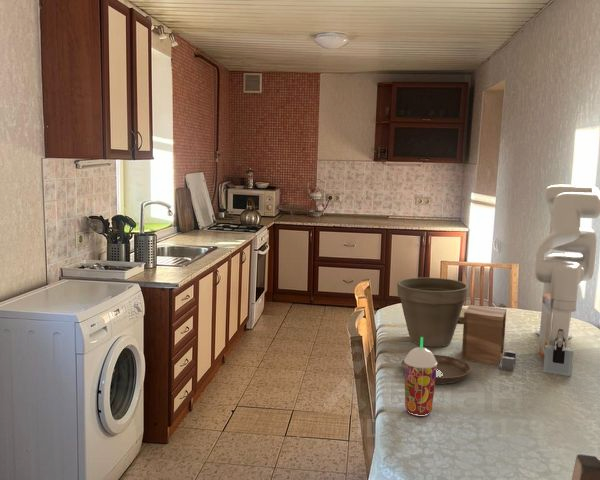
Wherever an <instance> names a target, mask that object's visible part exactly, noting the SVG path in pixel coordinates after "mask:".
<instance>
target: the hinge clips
mask: <svg viewBox="0 0 600 480" xmlns="http://www.w3.org/2000/svg"><path fill="white" fill-rule="evenodd" d="M516 361H517V352H516V351H511V350H504V352H503V357H502V359H501V362H500V365H498V370H501V371H506V372H507V371H508V372H514V371H515V366H516Z"/></svg>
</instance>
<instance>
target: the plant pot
mask: <svg viewBox="0 0 600 480" xmlns="http://www.w3.org/2000/svg"><path fill="white" fill-rule="evenodd" d="M396 285H397V287H396V288H397V296H398V298H399V299H400V303H401V308H402V311H403V312H402V313H403V316H404V320H405V323H406V327H407V328H406V329H407V331H408V332H407V333H408V335H409V340H410V341H411V342H412V343H414V344H415V345H418V346H420V340H421V337H423V347H428V348H429V347H430V348H432V347H433V348H441V347H446V346H449V345H450V344H451V343H452V340H453V337H454V336H455V332H456V329H457V325H458V323H457V322H458V319H459V316H460V313H461V310H462V308H463V306H464V303H465V302H466V300H467V299H468V293H469V285H468V284H467V283H465V282H463V281H460V280H455V279H449V278H443V277H442V278H441V277H410V278H403V279H401V280H399V281H398V282H397V283H396Z"/></svg>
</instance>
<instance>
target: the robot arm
mask: <svg viewBox="0 0 600 480" xmlns="http://www.w3.org/2000/svg"><path fill="white" fill-rule="evenodd" d="M544 199H545V202H546V205H547V207H548V209H549V213H550V222H549V233H548V234H549V235H548V236H546V237H545V238H544V239H543V240H542V241H541V243H539V245H538V247H537V250H536V253H535V261H534V277H535V279H536V280H537V281H538V282H539V283H543V289H542V290H543V293H546V294H550V304H549V308H550V309H552V310H553V311H552V319H551V332H550V341H551V342H552V341H554V346H555V348H554V349H553V362H554V363H560V364H564V358H565V351H564V347H565V343H567V344H568V340H569V339H571V338H572V336H573V335H572V332H570V328H571V321H572V320H571V319H572V313H574V312H576V311H577V302H578V301H577V300H578V299H577V298H578V287H579V285H580V283H581V282H586V281H590V280H591V279H592V278H593V276H594V271H595V263H596V262H595V261H596V255H597V254H596V252H597V241H598V240H597V233H596V231H595V230H594V229H592V228H590V227H581V219H597V218H598V217H599V216H600V190H599V188H598V187H596V186H592V185H574V184H572V185H571V184H553V185H550V186H547V187H546V189H545V191H544ZM551 250H552V251H554V252H560V253H550V254H547V253H548V252H550V251H551ZM566 253H572V254H566ZM546 254H547V255H546ZM579 254H580V255H579ZM543 293H542V294H543ZM535 333H536V334H537V335H539V336H540V327H538V328H536V330H535ZM556 346H557V348H556Z"/></svg>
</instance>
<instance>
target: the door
mask: <svg viewBox="0 0 600 480" xmlns="http://www.w3.org/2000/svg"><path fill="white" fill-rule="evenodd" d="M554 348H555V346H551V345H545V355H544V358H543V371H542V372H543V373H548V374H555V375H560V376H561V375H562V376H566V377H572V375H573V374H572V373H573V362H574V360H573V359H574V348H572V347H567V348H565V347H564V351H565V358H564V364H560V363H554V362H553V349H554ZM556 348H557V346H556Z"/></svg>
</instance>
